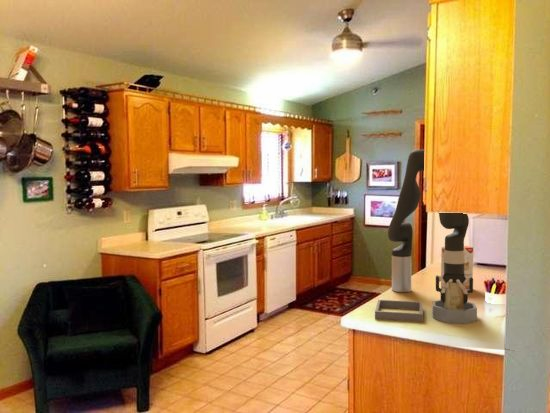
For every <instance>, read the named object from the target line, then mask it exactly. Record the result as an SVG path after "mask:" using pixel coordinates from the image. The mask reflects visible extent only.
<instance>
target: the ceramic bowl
mask: <svg viewBox="0 0 550 413" xmlns="http://www.w3.org/2000/svg"><path fill="white" fill-rule="evenodd" d="M431 307H432V311H431V312H432V313H431V314H432V318H433V319H434V320H436V321H440V322H444V323H446V324H447V323H448V324H458V325H459V324H460V325H465V324H471V323H474V322H477V321H478V307H477V305H476V303H474V302H470V301H467V302H466V304H464V310H452V309H445V308H444V302H442V301H441V299H438V300H434V301H432V306H431Z"/></svg>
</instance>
